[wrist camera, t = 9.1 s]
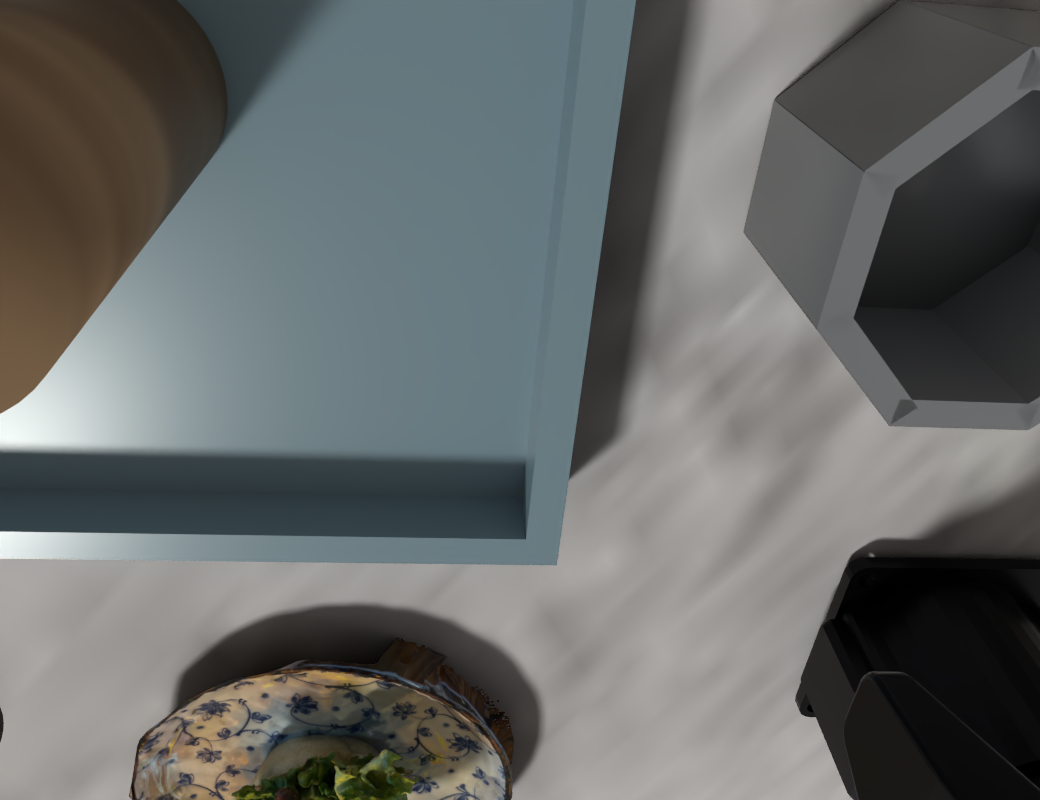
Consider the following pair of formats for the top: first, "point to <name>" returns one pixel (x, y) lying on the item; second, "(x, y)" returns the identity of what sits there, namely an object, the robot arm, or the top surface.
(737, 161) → the top surface
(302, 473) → the tray
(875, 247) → the cup
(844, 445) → the top surface
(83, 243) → the peg
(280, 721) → the burger
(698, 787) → the top surface
